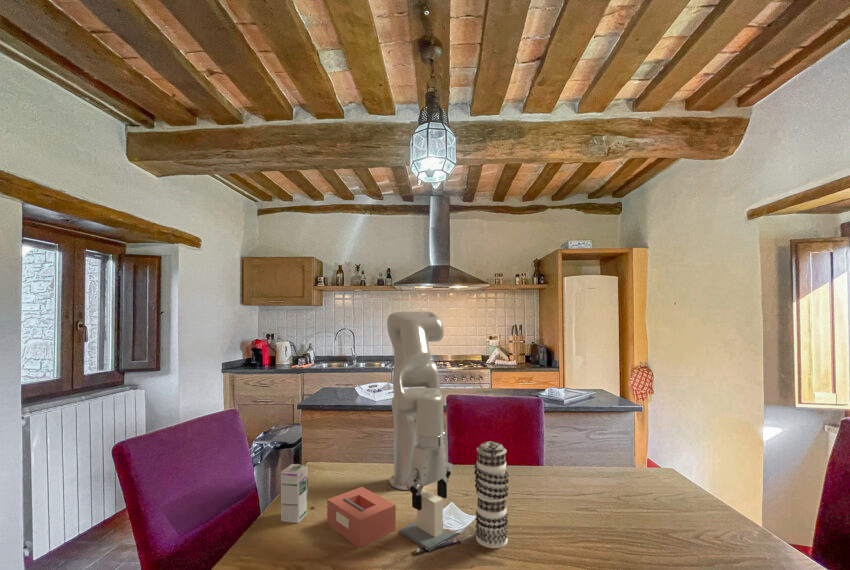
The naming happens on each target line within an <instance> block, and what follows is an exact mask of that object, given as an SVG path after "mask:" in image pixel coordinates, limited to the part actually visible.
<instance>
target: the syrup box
mask: <svg viewBox="0 0 850 570" xmlns="http://www.w3.org/2000/svg"><path fill="white" fill-rule="evenodd" d="M308 467H309V466H308V464H301V463H294V464H293V463H291V464H289V466H287V467H285V468H284V469H283V470H281V471H280V521H281V522H284V523H292V524H300V522H301V521H302V520H303V519H304V518H305V517H306V516H307V515H308V514H309V496H308V494H309V481H308V480H309V472H308V471H309V468H308Z"/></svg>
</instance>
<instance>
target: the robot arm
mask: <svg viewBox="0 0 850 570" xmlns="http://www.w3.org/2000/svg"><path fill="white" fill-rule="evenodd" d="M386 326H387V334H388V336H389V339H390V342H391V345H392V348H393V362H394V366H393V367H394V377H393V382H392V389H393V391H392V392H393V396H392V399H391V410H392V417H393V475H392V476H391V477H389V484H390V486H391V487H393V488H395V489H397V490H400V491H401V490H402V491H409V492H410V493H411V506H412V508H413V509H416V511H417V510H419V511H420V510H421V509H422V495H420V493H421V492H423V491H422V490H423V488H424V487H426V486H428V485H431V484H434V483H436V484H437V485H436V492H437V495H436V496H437V497H439V498H441V499H443V500H444V499H447V498H448V495H447V494H448V491H447V490H448V489H447V488H448V483H449V478H450V476H451V474H452V472H451V471H452V469H453V463H451V462H448V461H447V452H446V450H447V449H446V445H445V442H444V436H445V432H444V398H443V397H444V396H443V394H442V393H441V387H440V386H441V385H440V384H441V383H440V374H439V373H440V372H439V368H438V366H437V363H436V362H435V361H433V360H431V357H432V356H431V352H430V351H431V350H430V345H429V343H430V342H431V343H433V342H440V341H442V340H443V339H444V335H445V331H444V330H445V329H444V324H443V322H442V320H441V318H440V317H439V316H438V315H437V314H435V313H434V312H432V311H396V312H393V313H391V314H389V315H388V317H387V321H386ZM415 421H416V422H415Z"/></svg>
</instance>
